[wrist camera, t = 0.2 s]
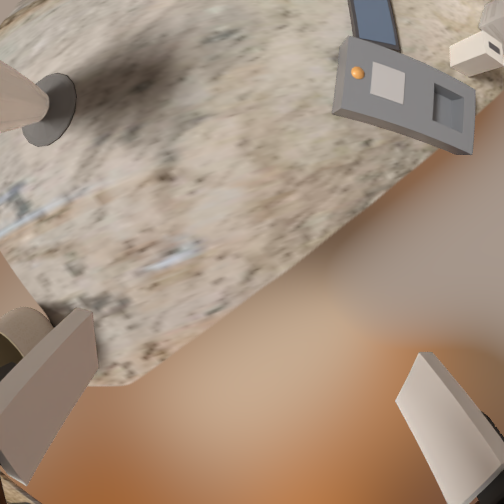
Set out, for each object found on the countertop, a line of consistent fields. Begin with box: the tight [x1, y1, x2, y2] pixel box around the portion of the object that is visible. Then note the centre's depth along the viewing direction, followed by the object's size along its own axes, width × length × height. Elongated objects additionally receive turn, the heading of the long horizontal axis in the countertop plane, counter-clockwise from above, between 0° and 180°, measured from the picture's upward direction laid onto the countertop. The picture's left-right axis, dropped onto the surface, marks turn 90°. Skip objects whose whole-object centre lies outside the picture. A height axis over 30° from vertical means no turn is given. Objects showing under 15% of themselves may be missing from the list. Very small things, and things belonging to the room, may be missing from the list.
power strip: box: [332, 36, 475, 155], centre depth 31 cm, size 10×20×4 cm, turn 81°
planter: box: [0, 307, 54, 367], centre depth 37 cm, size 12×12×11 cm
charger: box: [449, 30, 504, 77], centre depth 26 cm, size 4×4×9 cm
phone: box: [348, 0, 399, 52], centre depth 28 cm, size 13×6×1 cm, turn 1°
